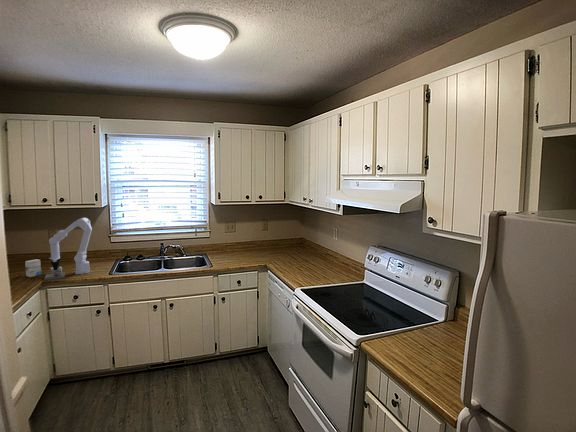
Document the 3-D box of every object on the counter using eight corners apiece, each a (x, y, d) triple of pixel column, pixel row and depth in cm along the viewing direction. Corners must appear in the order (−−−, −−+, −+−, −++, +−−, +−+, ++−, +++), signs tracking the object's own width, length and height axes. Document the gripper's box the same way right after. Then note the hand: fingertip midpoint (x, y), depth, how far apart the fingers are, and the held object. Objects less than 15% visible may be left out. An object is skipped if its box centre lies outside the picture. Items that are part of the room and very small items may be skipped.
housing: (62, 272, 274) (61, 266, 273) (61, 274, 269) (61, 267, 269) (51, 273, 270) (51, 267, 270) (51, 275, 266) (50, 269, 265)
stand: (65, 274, 267) (64, 272, 267) (63, 278, 258) (63, 275, 258) (46, 276, 261) (46, 274, 261) (44, 280, 253) (44, 277, 252)
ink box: (38, 273, 270) (37, 258, 269) (41, 274, 268) (40, 259, 266) (25, 276, 263) (24, 261, 261) (29, 277, 260) (28, 262, 259)
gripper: (50, 250, 272) (51, 267, 274) (47, 254, 260) (48, 271, 261) (60, 249, 276) (61, 266, 277) (58, 253, 263) (59, 270, 265)
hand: (56, 268), depth 269 cm, fingers open, 7 cm apart
